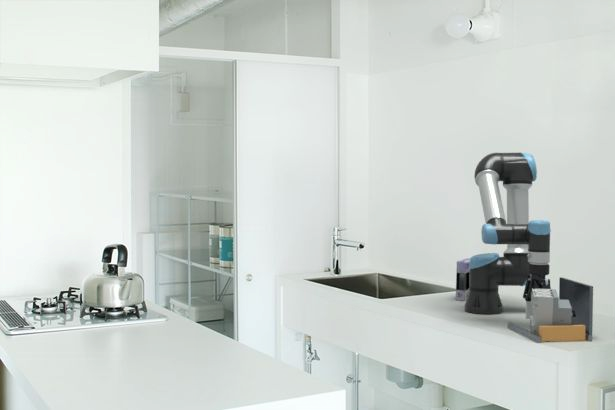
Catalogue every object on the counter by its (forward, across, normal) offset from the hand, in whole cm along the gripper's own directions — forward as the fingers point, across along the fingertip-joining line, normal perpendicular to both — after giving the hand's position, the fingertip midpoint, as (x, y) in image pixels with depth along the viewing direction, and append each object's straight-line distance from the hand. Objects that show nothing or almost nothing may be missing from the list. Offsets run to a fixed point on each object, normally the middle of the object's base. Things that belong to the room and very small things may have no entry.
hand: (537, 322), depth 278 cm
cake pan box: (+3, -69, -1) cm, 69 cm away
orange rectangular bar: (+3, +18, 0) cm, 19 cm away
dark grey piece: (+3, +8, 0) cm, 8 cm away
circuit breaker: (+2, +11, 0) cm, 11 cm away
